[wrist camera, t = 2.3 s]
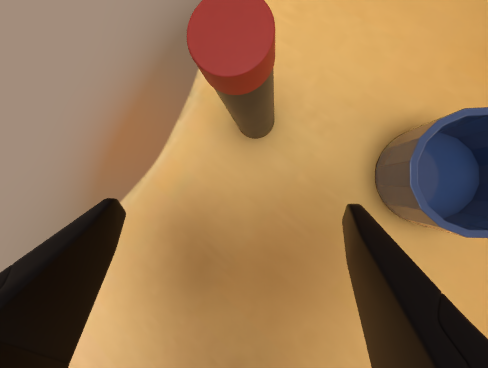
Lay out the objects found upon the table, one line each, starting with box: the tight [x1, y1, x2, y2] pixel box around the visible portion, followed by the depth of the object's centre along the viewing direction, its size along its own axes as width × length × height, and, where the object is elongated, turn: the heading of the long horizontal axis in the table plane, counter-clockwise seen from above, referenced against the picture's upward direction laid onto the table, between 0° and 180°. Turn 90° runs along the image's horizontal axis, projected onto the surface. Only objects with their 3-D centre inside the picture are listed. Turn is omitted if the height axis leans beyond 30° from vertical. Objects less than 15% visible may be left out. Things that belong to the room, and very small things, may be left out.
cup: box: [375, 107, 488, 238], centre depth 18 cm, size 8×8×6 cm
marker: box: [187, 0, 275, 138], centre depth 16 cm, size 4×4×13 cm
